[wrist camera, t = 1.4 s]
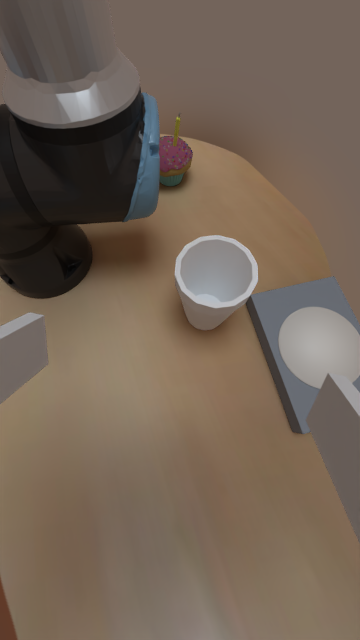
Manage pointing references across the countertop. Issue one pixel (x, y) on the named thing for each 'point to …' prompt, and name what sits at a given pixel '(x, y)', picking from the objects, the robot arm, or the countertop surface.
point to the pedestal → (306, 341)
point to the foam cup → (214, 279)
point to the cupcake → (173, 157)
